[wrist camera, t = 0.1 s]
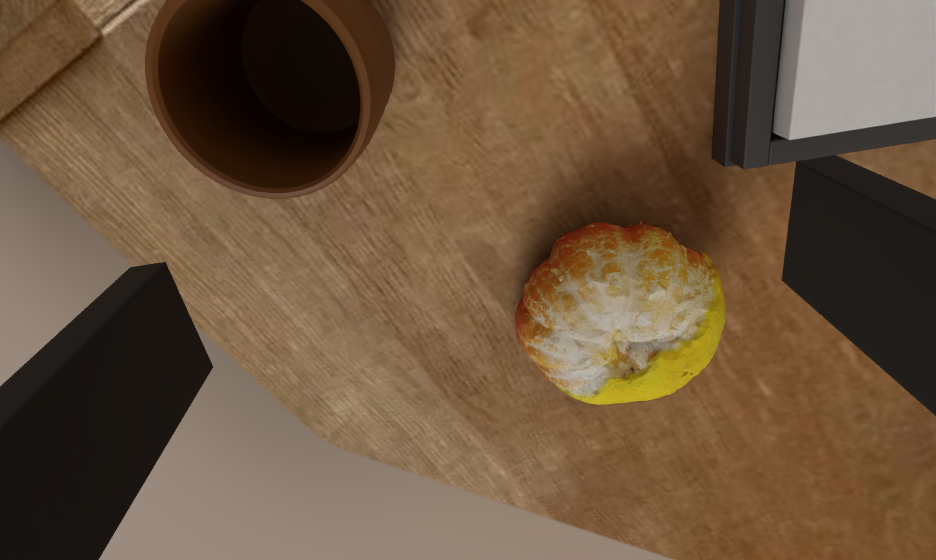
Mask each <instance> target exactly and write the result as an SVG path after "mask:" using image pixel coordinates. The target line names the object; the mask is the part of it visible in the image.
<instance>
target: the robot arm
mask: <svg viewBox="0 0 936 560" xmlns="http://www.w3.org/2000/svg"><path fill="white" fill-rule="evenodd" d="M782 281H783V282H784V283H785V284H787V285H788V286H789V287H790V288H791V289H792V290H793V291H794V292H796V293H797V294H798V295H799V296H800V297H801V298H802V299H804V300H805V301H806V302H807V303H808V304H809V305H810V306H811V307H813V308H814V309H815V310H816V311H817V312H818V313H819V314H821V315H822V316H823V317H824V318H825V319H826V320H827V321H828V322H830V323H831V324H832V325H833V326H834V327H835V328H836V329H838V330H839V331H840V332H841V333H842V334H843V335H844V336H846V337H847V338H848V339H849V340H850V341H851V342H852V343H853V344H855V345H856V346H857V347H858V348H859V349H860V350H861V351H863V352H864V353H865V354H866V355H867V356H868V357H869V358H870V359H872V360H873V361H874V362H875V363H876V364H877V365H878V366H880V367H881V368H882V369H883V370H884V371H885V372H886V373H888V374H889V375H890V376H891V377H892V378H893V379H894V380H895V381H897V382H898V383H899V384H900V385H901V386H902V387H903V388H905V389H906V390H907V391H908V392H909V393H910V394H911V395H912V396H914V397H915V398H916V399H917V400H918V401H919V402H920V403H922V404H923V405H924V406H925V407H926V408H927V409H928V410H929V411H931V412H932V413H933V414H934V415H935V416H936V199H933V198H931V197H929V196H927V195H924V194H922V193H920V192H918V191H915V190H913V189H911V188H909V187H906V186H904V185H902V184H899V183H897V182H895V181H893V180H890V179H888V178H886V177H884V176H881V175H879V174H877V173H875V172H872V171H870V170H868V169H866V168H863V167H861V166H859V165H857V164H854V163H852V162H850V161H847V160H845V159H843V158H841V157H838V156H836V155H831V156H825V157H819V158H813V159H806V160H800V161H796V169H795V177H794V185H793V193H792V201H791V209H790V217H789V225H788V234H787V242H786V250H785V258H784V266H783V274H782ZM212 368H213V366H212V363H211V361H210V359H209V357H208V354H207V352H206V350H205V348H204V346H203V343H202V341H201V339H200V337H199V335H198V332H197V330H196V328H195V326H194V324H193V321H192V319H191V317H190V315H189V313H188V310H187V308H186V306H185V304H184V302H183V299H182V297H181V295H180V293H179V291H178V288H177V286H176V284H175V282H174V280H173V278H172V275H171V273H170V271H169V269H168V267H167V264H166V262H162V263H155V264H149V265H143V266H136V267H130V268H129V269H128V270H127V271H126V272H125V273H124V274H123V275H121V276H120V277H119V278H118V279H117V280H116V281H115V282H114V283H113V284H112V285H111V286H109V287H108V288H107V289H106V290H105V291H104V292H103V293H102V294H101V295H100V296H99V297H97V298H96V299H95V300H94V301H93V302H92V303H91V304H90V305H89V306H88V307H87V308H85V309H84V310H83V311H82V312H81V313H80V314H79V315H78V316H77V317H76V318H75V319H73V320H72V321H71V322H70V323H69V324H68V325H67V326H66V327H65V328H64V329H62V330H61V331H60V332H59V333H58V334H57V335H56V336H55V337H54V338H53V339H52V340H50V342H49V343H47V344H46V345H45V346H44V347H43V348H42V349H41V350H40V351H39V352H37V353H36V354H35V355H34V356H33V357H32V358H31V359H30V360H29V361H28V362H27V363H25V364H24V365H23V366H22V367H21V368H20V369H19V370H18V371H17V372H16V373H14V375H12V376H11V377H10V378H9V379H8V380H7V381H6V382H5V383H4V384H3V385H1V386H0V560H99V558H100V556H101V555H102V553H103V551H104V550H105V548H106V546H107V544H108V543H109V541H110V539H111V538H112V536H113V534H114V533H115V531H116V529H117V528H118V526H119V524H120V523H121V521H122V519H123V517H124V516H125V514H126V512H127V511H128V509H129V508H130V506H131V504H132V502H133V501H134V499H135V497H136V496H137V494H138V492H139V491H140V489H141V487H142V486H143V484H144V482H145V481H146V479H147V477H148V476H149V474H150V472H151V471H152V469H153V467H154V465H155V464H156V462H157V460H158V459H159V457H160V455H161V454H162V452H163V450H164V448H165V447H166V445H167V444H168V442H169V440H170V439H171V437H172V435H173V434H174V432H175V430H176V428H177V427H178V425H179V423H180V422H181V420H182V418H183V417H184V415H185V413H186V412H187V410H188V408H189V407H190V405H191V403H192V402H193V400H194V398H195V397H196V395H197V393H198V392H199V390H200V388H201V386H202V385H203V383H204V381H205V380H206V378H207V376H208V375H209V373H210V371H211V370H212Z"/></svg>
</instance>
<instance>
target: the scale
mask: <svg viewBox="0 0 936 560" xmlns="http://www.w3.org/2000/svg"><path fill="white" fill-rule="evenodd" d="M785 1H786V0H720V12H719V31H718V51H717V70H716V90H715V109H714V129H713V148H712V159H714V160H715V161H717V162H718V163H720V164H721V165H723V166H724V167H729V166H735V165H737V166H739V167H741V168H742V169H750V168H756V167H762V166H767V165H775V164H781V163H787V162H794V161H800V160H806V159H812V158H819V157H825V156H831V155H837V154H844V153H850V152H856V151H863V150H869V149H875V148H881V147H888V146H894V145H900V144H906V143H913V142H919V141H925V140H932V139H936V117H930V118H924V119H918V120H911V121H905V122H899V123H893V124H887V125H880V126H874V127H868V128H862V129H856V130H849V131H843V132H837V133H831V134H824V135H818V136H812V137H806V138H800V139H793V140H788V139H786V138H784V137H782V136H780V135H777V134H775V133H773V121H774V111H775V101H776V91H777V81H778V71H779V61H780V51H781V41H782V31H783V21H784V11H785Z"/></svg>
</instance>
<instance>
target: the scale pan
mask: <svg viewBox="0 0 936 560" xmlns="http://www.w3.org/2000/svg"><path fill="white" fill-rule="evenodd" d="M930 117H936V0H786V1H785V11H784V21H783V31H782V41H781V51H780V61H779V71H778V81H777V91H776V101H775V111H774V121H773V133H775V134H777V135H780V136H782V137H784V138H786V139H788V140H793V139H800V138H806V137H812V136H818V135H824V134H831V133H837V132H843V131H849V130H856V129H862V128H868V127H874V126H880V125H887V124H893V123H899V122H905V121H911V120H918V119H924V118H930Z"/></svg>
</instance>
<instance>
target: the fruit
mask: <svg viewBox="0 0 936 560" xmlns="http://www.w3.org/2000/svg"><path fill="white" fill-rule="evenodd" d="M725 317H726V303H725V297H724V291H723V286H722V282H721V277H720V273H719V271H718V269H717V267H716V266H714V264H713V262H712V260H711V259H710V257H709V256H708V255H707V254H706V252H703V253H701V254H700V253H698V252H696V251H694V250H693V249H691V248H687V247H684V246H683V245H679V244H678V242H677V241H676V240H675V239H674V238H673V237H672V235H671V233H670V232H667V231H665V230H663V229H662V228H660V227H654V226H651V225H646V224H644V223H643V222H642V220H641V221H640V223H639V224H638V225H635V226H634V225H631V224H629V225H628V227H626V228H625V229H624V228H622V227H620V226H618V225H611V224H609V223H605V222H602V223H600V222H594V223H592V224H590V225H587V226H584V227H581V228H580V229H577V230H574V231H571V232H568V233H567V234H565V235H563V236H562V237H559V240H556V242H555V243H554V246H553V248H552V252H551V254H550V256H549V257H548V259H546V260H545V261H543V262H542V263H541V264H540V266H539V267H537V268H535V269H534V270H532V271H531V273H530V276H529V279H528V280H527V282H526V283H525V284H524V290H523V299H521V300H520V302H519V305H518V307H517V310H516V314H515V320H516V333H517V339H518V341H519V343H520V344H521V346H522V347H523V349H524V350H525V352H526V353H527V355H529V357H530V358H531V359H532V360H533V361H534V362H535V364H536V365H537V366H538V367H539V368H540V369H541V371H542V372H543V374H544V376H545V377H546V378H547V379H549V380H550V381H551V382H553V383H554V384H555V385H556V386H557V387H558V388H559V389H560V390H562V391H563V392H565V393H566V394H568V395H570V396H572V397H573V398H575V399H578V400H581V401H583V402H586V403H590V404H614V403H627V402H632V401H643V400H646V401H647V400H651V399H656V398H659V397H662V396H664V395H669V394H671V393H673V392H675V391H676V390H677V389H678V388H682V387H683V386H684V385H685V384H686V383H688V382H689V381H690V380H691V379H692V378H693V377H694V376H695V375H697V374H699V373H700V371H701V370H702V369H703V368H705V367H706V366H707V364H708V363H709V362H710V360H711V359H712V357H713V355H714V353H715V351H716V349H717V347H718V344H719V340H720V337H721V333H722V329H723V326H724V323H725Z"/></svg>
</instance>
